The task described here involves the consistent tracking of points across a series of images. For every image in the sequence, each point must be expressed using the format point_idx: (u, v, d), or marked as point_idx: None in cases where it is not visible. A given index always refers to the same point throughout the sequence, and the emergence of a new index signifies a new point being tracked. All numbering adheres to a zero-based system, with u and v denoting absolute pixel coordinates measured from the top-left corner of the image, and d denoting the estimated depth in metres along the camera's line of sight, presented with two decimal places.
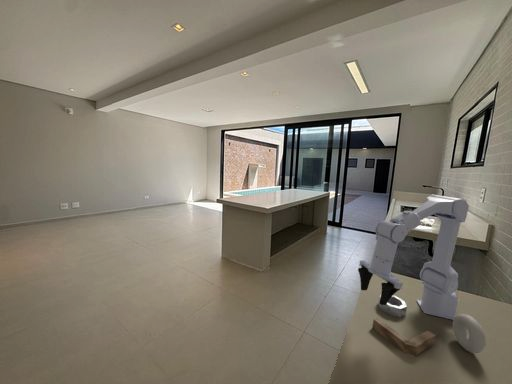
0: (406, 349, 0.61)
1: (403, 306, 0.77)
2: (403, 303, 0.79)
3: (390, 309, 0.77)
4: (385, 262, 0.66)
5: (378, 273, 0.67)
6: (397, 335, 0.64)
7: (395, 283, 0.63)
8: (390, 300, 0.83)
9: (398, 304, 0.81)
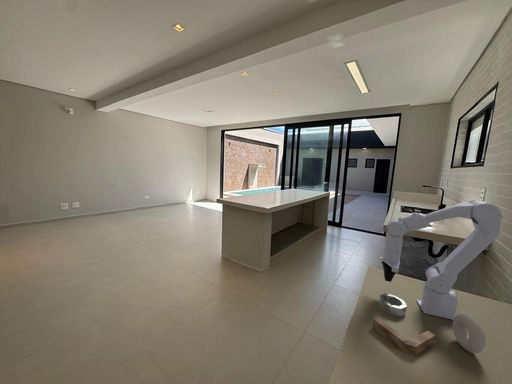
0: (406, 349, 0.61)
1: (403, 306, 0.77)
2: (403, 303, 0.79)
3: (390, 309, 0.77)
4: (389, 252, 0.84)
5: (384, 260, 0.86)
6: (397, 335, 0.64)
7: (392, 267, 0.81)
8: (390, 300, 0.83)
9: (398, 304, 0.81)
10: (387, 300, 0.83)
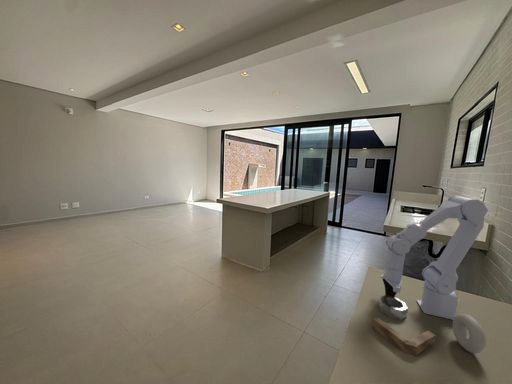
0: (406, 349, 0.61)
1: (404, 308, 0.76)
2: (404, 305, 0.77)
3: (391, 311, 0.76)
4: (390, 270, 0.81)
5: (386, 278, 0.82)
6: (397, 335, 0.64)
7: (393, 287, 0.77)
8: (391, 302, 0.82)
9: (399, 306, 0.80)
10: (388, 302, 0.82)
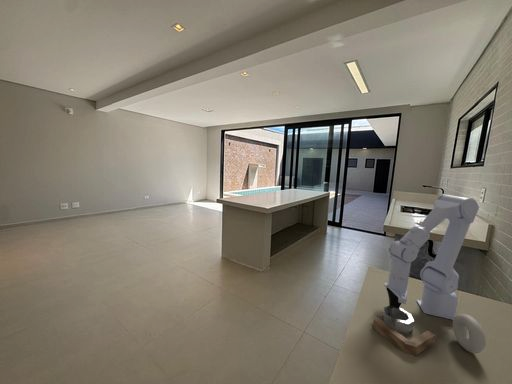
0: (406, 349, 0.61)
1: (410, 321, 0.70)
2: (410, 317, 0.71)
3: (396, 324, 0.70)
4: (395, 278, 0.75)
5: (390, 287, 0.76)
6: (397, 335, 0.64)
7: (398, 297, 0.71)
8: (395, 313, 0.76)
9: (404, 318, 0.74)
10: (392, 313, 0.76)
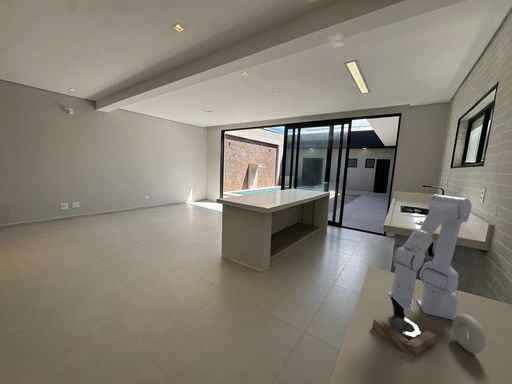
0: (406, 349, 0.61)
1: (416, 333, 0.65)
2: (416, 329, 0.66)
3: None
4: (400, 287, 0.69)
5: (394, 297, 0.71)
6: (397, 335, 0.64)
7: (404, 309, 0.66)
8: (400, 323, 0.71)
9: (410, 329, 0.69)
10: (396, 323, 0.71)
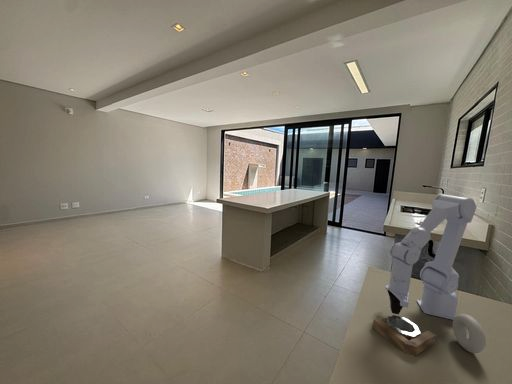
0: (406, 349, 0.61)
1: (416, 333, 0.65)
2: (416, 329, 0.66)
3: None
4: (396, 281, 0.73)
5: (391, 290, 0.74)
6: (397, 335, 0.64)
7: (400, 301, 0.70)
8: (400, 323, 0.71)
9: (410, 329, 0.69)
10: (396, 323, 0.71)
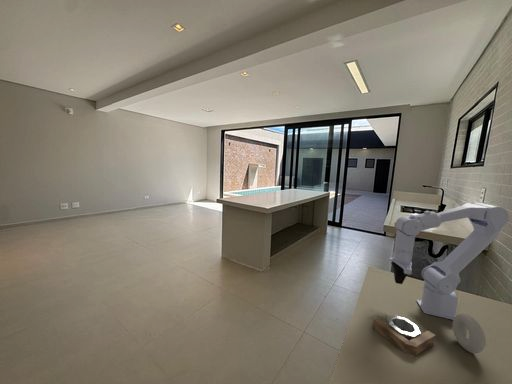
0: (406, 349, 0.61)
1: (416, 333, 0.65)
2: (416, 329, 0.66)
3: None
4: (400, 252, 0.78)
5: (395, 261, 0.79)
6: (397, 335, 0.64)
7: (404, 269, 0.75)
8: (400, 323, 0.71)
9: (410, 329, 0.69)
10: (396, 323, 0.71)
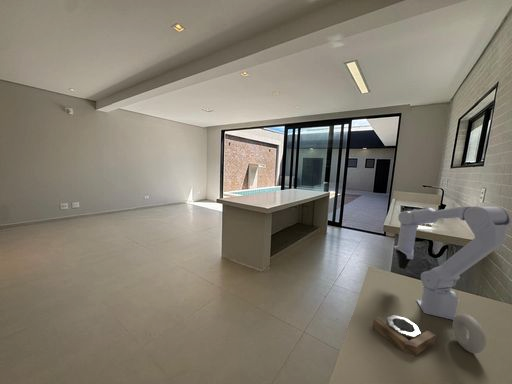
0: (406, 349, 0.61)
1: (416, 333, 0.65)
2: (416, 329, 0.66)
3: None
4: (403, 240, 0.90)
5: (399, 248, 0.92)
6: (397, 335, 0.64)
7: (407, 255, 0.87)
8: (400, 323, 0.71)
9: (410, 329, 0.69)
10: (396, 323, 0.71)
